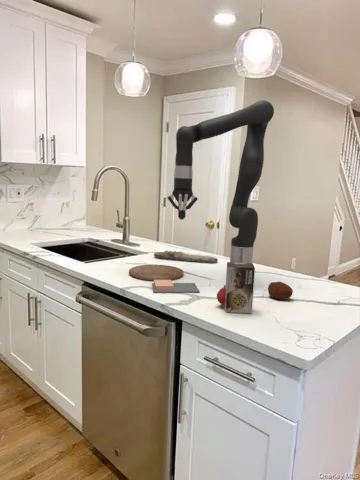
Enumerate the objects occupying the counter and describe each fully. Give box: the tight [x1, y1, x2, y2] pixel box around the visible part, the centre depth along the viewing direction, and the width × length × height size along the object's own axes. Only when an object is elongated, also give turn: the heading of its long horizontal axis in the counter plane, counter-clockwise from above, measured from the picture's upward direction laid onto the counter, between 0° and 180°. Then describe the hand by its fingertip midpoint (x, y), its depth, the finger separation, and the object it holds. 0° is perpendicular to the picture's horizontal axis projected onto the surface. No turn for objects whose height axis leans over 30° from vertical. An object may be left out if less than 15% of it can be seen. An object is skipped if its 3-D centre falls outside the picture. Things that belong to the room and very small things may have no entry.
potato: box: [267, 281, 294, 301], centre depth 147 cm, size 7×9×6 cm
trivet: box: [128, 264, 185, 283], centre depth 175 cm, size 25×25×2 cm
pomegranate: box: [216, 284, 226, 308], centre depth 134 cm, size 6×6×8 cm
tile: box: [153, 280, 174, 291], centre depth 153 cm, size 9×2×7 cm
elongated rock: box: [153, 250, 218, 264], centre depth 207 cm, size 35×5×10 cm
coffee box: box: [224, 261, 256, 314], centre depth 131 cm, size 9×6×16 cm
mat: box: [151, 282, 201, 294], centre depth 154 cm, size 18×12×1 cm, turn 98°
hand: (181, 219), depth 160 cm, fingers closed
